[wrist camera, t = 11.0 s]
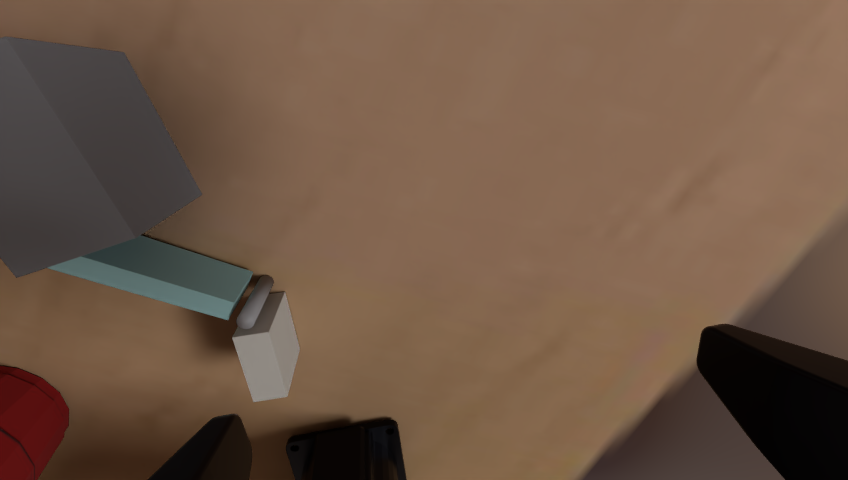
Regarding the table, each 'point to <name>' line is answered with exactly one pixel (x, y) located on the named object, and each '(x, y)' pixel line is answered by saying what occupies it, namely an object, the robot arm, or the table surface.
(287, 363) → the wall
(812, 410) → the robot arm
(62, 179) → the gray rectangular block
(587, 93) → the table surface
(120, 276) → the door
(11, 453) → the plastic cup
